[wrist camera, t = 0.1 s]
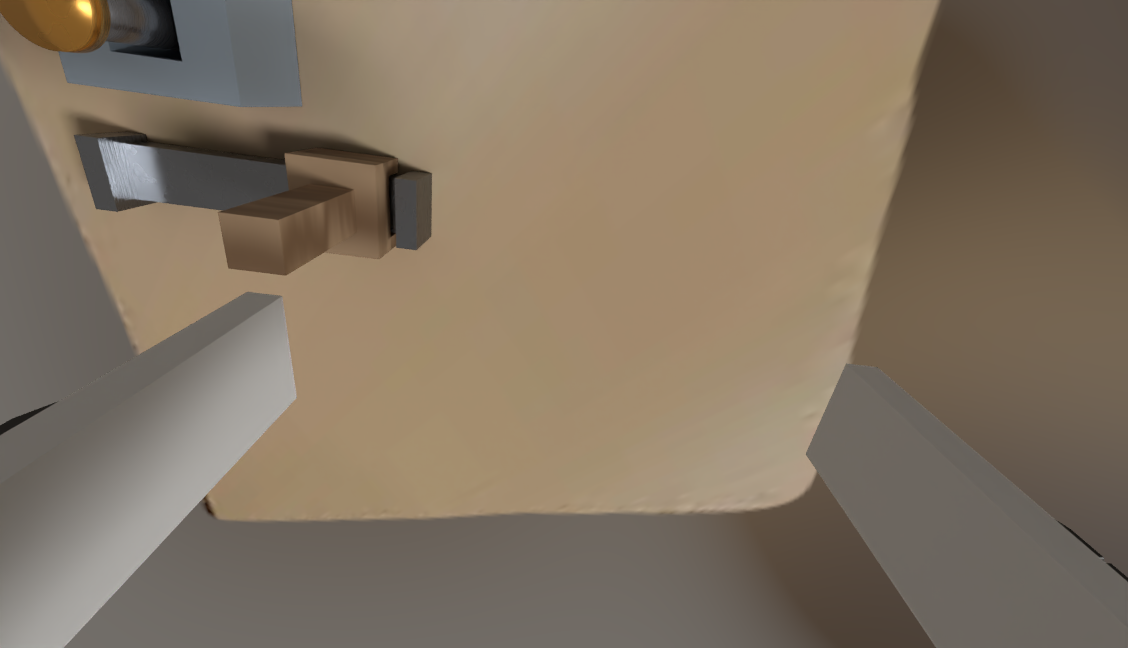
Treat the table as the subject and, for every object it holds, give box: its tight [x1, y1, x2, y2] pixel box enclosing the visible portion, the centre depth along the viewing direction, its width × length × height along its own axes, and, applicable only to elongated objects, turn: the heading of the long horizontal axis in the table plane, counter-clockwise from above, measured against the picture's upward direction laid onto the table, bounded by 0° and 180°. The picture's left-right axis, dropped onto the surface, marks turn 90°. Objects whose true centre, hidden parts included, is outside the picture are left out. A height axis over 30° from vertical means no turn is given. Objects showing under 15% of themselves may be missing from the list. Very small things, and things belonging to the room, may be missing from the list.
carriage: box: [218, 148, 398, 275], centre depth 30 cm, size 7×6×14 cm
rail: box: [74, 132, 432, 250], centre depth 35 cm, size 5×23×4 cm, turn 83°
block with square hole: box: [58, 0, 302, 107], centre depth 29 cm, size 8×10×7 cm
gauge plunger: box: [0, 0, 180, 53], centre depth 25 cm, size 4×4×9 cm
